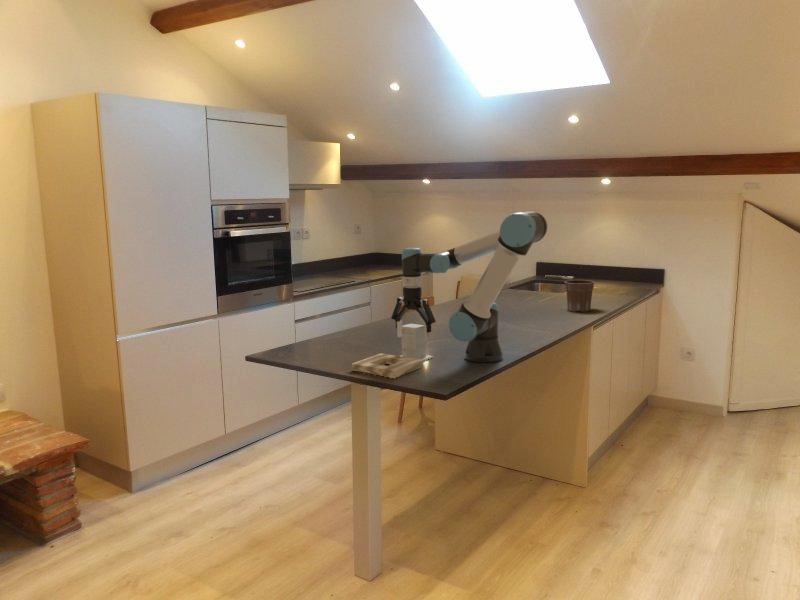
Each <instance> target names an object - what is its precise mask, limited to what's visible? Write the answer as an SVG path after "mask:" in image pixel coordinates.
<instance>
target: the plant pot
mask: <svg viewBox="0 0 800 600" xmlns="http://www.w3.org/2000/svg"><path fill="white" fill-rule="evenodd" d="M595 283H596V282H595V281H594V280H589V279H588V280H587V279H586V280H585V279H573V280H572V279H569V280H565V281H564V284H565V285H564V287H565V291H566V305H567V310H568V312H569V311H570V312H577V313H578V312H581V313H584V312H589V311H591V307H592V306H591V305H592V298H593V290H594V285H595Z"/></svg>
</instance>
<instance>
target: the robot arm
mask: <svg viewBox="0 0 800 600" xmlns="http://www.w3.org/2000/svg"><path fill="white" fill-rule="evenodd" d="M547 232H548V222H547V219H546V218H545V216H543V215H542V214H541V213H540V212H538V211H534V210H533V211H531V210H529V211H518V212H513V213H511V214H509V215H508V216H506V217H505V218H504V219H503V220H502V222H501V224H500V228H499V229H498V230H496V231H494V232H491V233H488V234H486V235H484V236H481V237H478V238H476V239H473V240H471V241H468V242H466V243H463V244H460V245H458V246H454V247H452V248H450V249H448V250H444V251H439V252H434V253H424V252H422V251H421V248H420V247H406V248H402V251H401V267H402V268H401V271H402V286H403V287H402V296H400V297H396V298H397V299H396V304H395V306H394V309H393V312H392V314H391V318H390V319H392V320H393V321H395V329H396V333H397V334H396V335H397V338H401V326H403V320H402V318H403V317H404V315H405V314H406V313H407V311H408V310H412V311H416V312H418V314H419V316H420V317H421V319H422V320H423V322H424V323H425V324H423V325H424V332H425V341H426V342H428V341H430V340H431V332H432V324H434V323H436V322H437V321H436V319H435V316H434V314H433V312H432V309H431V307H430V304H429V300H428V298H426V299H422V295H423V293H422V292H423V291H422V273H429V274H430V273H431V274H437V275H438V274H445V273H447V272H448V270H453V269H457V268H459V267H460V266H462V265H465V264H467V263H470V262H473V261H476V260H478V259H481V258H484V257H486V256H489V255H492V254H493V256H492V258H491V259H490V261H489V263H488V265H487V267H486V268H485V270H484V271H483V274H482V275H481V277H480V279H479V281H478V282H477V283H476V286H475V288H474V290H473V292H472V293H471V296H470V297H469V298H468V299H464V300H463V301H462V303H461V305H460V307H459V308H458V310H457V311H456V312H454V313H453V314H452V315H451V316H450V317H449V319H448V329H449V332H450V334H451V335H452V337H453V338H455V339H456V341H459V342H464V343H465V342H467V345H466V348H465V352H464V358H465V360H467V361H470V362H473V363H493V362H499V361H502V360H503V359H504V351H503V350H502V347H501V343H500V340H499V306H498V304H497V303H496V302H495V301H496V299H497V298H498V296H499V294H500V292H501V291H502V289H503V287H504V286H505V284H506V282H507V280H508V278H509V276H511V273H512V272H513V270H514V268H515V266H516V265H517V263H518V262H519V259H520V258H522V257H524V256H527V254H528V252H529V251H530V250H531V249H530V248H531V247H532V245H533V244H535V243H538V242H540V241H541V240H543V238H544V237H546V234H547ZM403 304H404V305H403Z"/></svg>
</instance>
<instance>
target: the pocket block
mask: <svg viewBox="0 0 800 600" xmlns="http://www.w3.org/2000/svg"><path fill="white" fill-rule="evenodd" d="M422 363H423V362H422V360H420V359H414V358H407V357H401V355H393V354H386V353H382V352H381V353H377V354H375V355H373V356H369V357H367V358H364V359H362V360H358V361H355V362H353V363H351V369H352V368H353V369H357V370H361V371H364V372H368V373H372V374H376V375H380V376H379V377H381V376H384V377H383V378H387V377H389V378H388V379H392V378H394V379H397V378H399V377H402V376H404V375H406V373H407V374H409V373H411V372H413V371H417V370H418V369H421V368H422V367H423V366H422V365H423V364H422ZM383 364H391V365H383ZM376 375H375V376H376ZM401 375H402V376H401ZM396 377H397V378H396Z"/></svg>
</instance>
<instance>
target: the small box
mask: <svg viewBox="0 0 800 600" xmlns="http://www.w3.org/2000/svg"><path fill="white" fill-rule="evenodd" d="M424 325H425V324H418V323H417V324H415V323H407V324H402V326H401V337H400V339H401V355H402V357H407V358H414V359H420V358H423V357H426V355H427V341H425V332H424Z"/></svg>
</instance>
